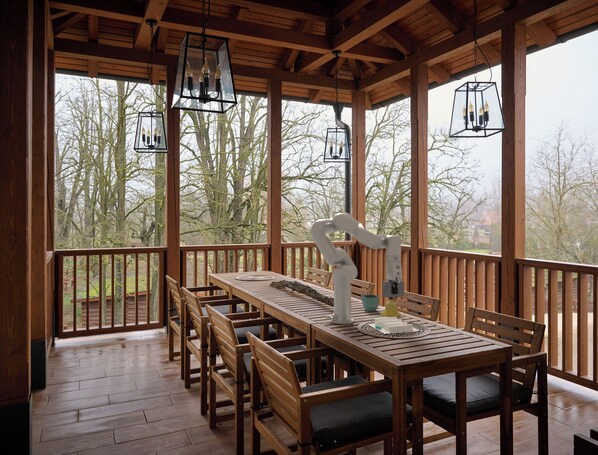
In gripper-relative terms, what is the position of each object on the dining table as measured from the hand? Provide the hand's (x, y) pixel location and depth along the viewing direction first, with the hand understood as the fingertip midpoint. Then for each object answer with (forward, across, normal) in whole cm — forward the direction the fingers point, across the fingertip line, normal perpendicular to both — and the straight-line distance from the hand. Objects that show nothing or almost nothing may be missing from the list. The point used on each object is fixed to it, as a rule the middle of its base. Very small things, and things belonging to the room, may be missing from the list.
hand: (393, 293), depth 246 cm
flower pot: (+19, +44, -7) cm, 49 cm away
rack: (+19, 0, 0) cm, 19 cm away
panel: (+2, 0, 0) cm, 2 cm away
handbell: (+19, +30, -14) cm, 38 cm away
